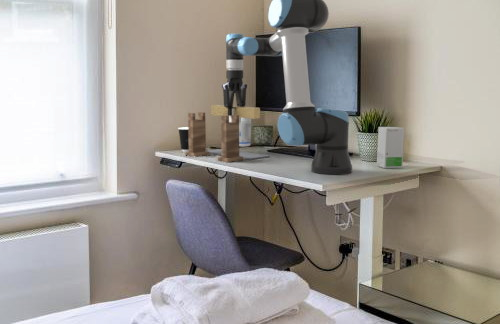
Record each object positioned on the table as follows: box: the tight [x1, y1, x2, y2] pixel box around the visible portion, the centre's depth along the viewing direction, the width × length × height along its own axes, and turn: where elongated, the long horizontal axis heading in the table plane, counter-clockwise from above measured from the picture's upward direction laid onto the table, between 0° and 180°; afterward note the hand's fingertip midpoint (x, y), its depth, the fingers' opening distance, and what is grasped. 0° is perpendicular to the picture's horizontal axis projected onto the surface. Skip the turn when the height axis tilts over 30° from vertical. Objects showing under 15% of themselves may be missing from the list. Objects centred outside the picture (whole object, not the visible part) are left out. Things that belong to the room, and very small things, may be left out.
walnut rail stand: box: [184, 111, 244, 163], centre depth 238 cm, size 28×9×19 cm, turn 45°
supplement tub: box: [239, 118, 252, 148], centre depth 279 cm, size 10×10×15 cm
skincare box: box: [376, 126, 405, 169], centre depth 214 cm, size 8×7×16 cm
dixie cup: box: [177, 126, 189, 153], centre depth 260 cm, size 8×8×11 cm
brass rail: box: [210, 104, 261, 120], centre depth 246 cm, size 28×4×4 cm, turn 45°
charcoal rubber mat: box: [207, 148, 271, 161], centre depth 248 cm, size 32×12×1 cm, turn 45°
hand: (234, 122), depth 246 cm, fingers closed on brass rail, 3 cm apart
